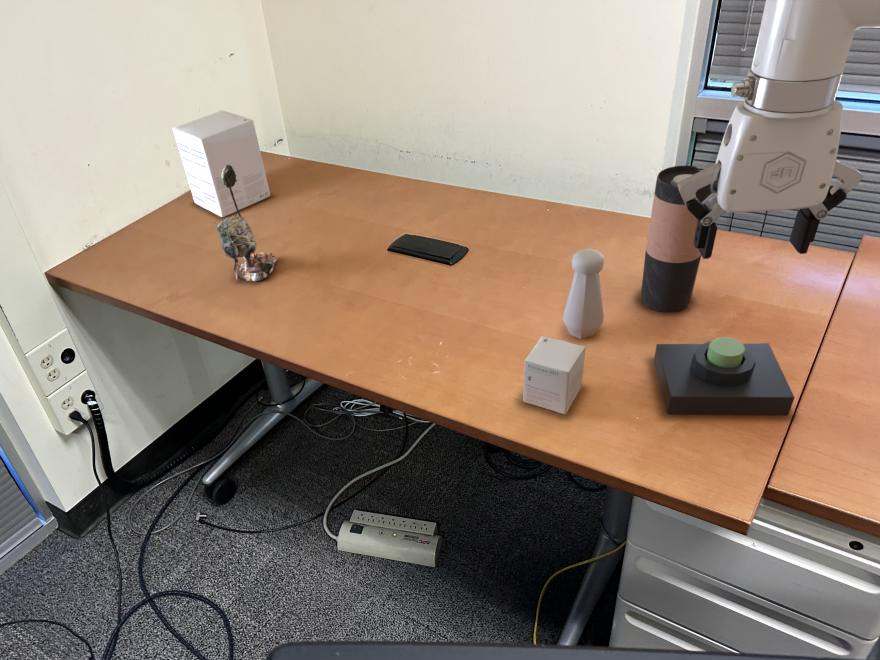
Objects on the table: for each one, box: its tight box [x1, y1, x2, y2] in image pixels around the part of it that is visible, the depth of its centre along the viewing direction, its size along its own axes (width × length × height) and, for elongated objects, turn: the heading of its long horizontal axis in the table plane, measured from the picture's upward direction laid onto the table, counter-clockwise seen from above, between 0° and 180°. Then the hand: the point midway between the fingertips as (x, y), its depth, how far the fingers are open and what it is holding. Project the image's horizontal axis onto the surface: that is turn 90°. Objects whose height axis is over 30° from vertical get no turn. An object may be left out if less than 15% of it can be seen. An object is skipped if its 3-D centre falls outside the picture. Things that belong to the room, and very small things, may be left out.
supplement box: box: [172, 110, 271, 218], centre depth 152 cm, size 13×13×18 cm
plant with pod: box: [214, 165, 279, 282], centre depth 123 cm, size 8×11×20 cm
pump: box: [707, 336, 745, 368], centre depth 86 cm, size 4×4×2 cm
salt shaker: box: [562, 248, 605, 340], centre depth 99 cm, size 6×6×13 cm
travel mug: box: [640, 165, 712, 313], centre depth 100 cm, size 8×8×20 cm
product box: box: [522, 335, 587, 415], centre depth 90 cm, size 6×6×7 cm
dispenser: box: [653, 340, 796, 417], centre depth 88 cm, size 14×11×5 cm
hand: (749, 250), depth 76 cm, fingers open, 9 cm apart
